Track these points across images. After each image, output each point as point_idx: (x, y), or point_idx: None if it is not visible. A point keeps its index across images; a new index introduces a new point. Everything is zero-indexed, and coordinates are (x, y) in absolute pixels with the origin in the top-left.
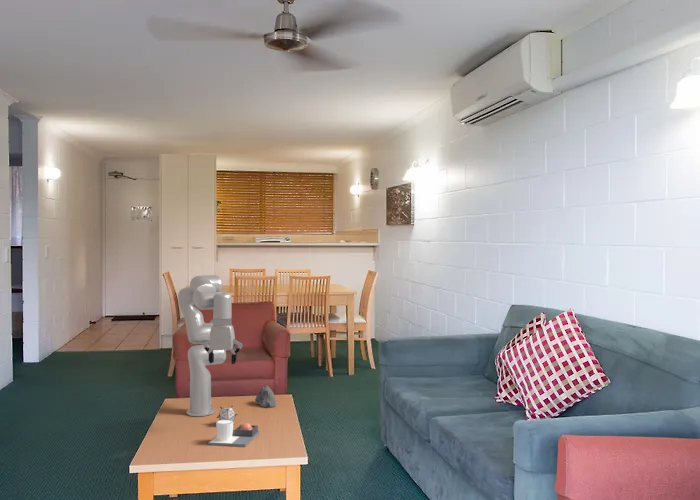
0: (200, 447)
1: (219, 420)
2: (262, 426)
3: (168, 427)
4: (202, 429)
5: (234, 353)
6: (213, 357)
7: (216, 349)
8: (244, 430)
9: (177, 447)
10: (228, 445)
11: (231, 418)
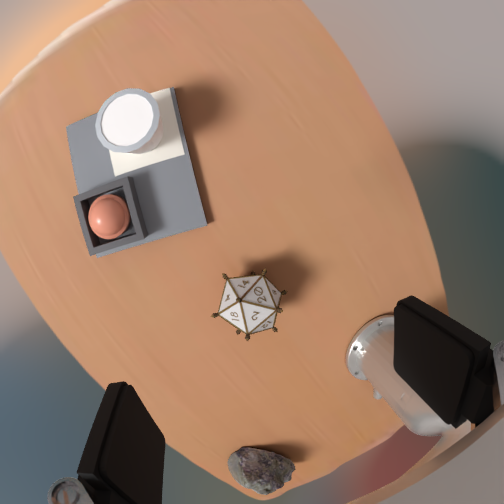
0: (184, 65)
1: (155, 124)
2: (137, 323)
3: (388, 198)
4: (290, 218)
5: (67, 494)
6: (422, 391)
7: (458, 454)
8: (96, 188)
9: (247, 44)
10: None
11: (223, 293)
